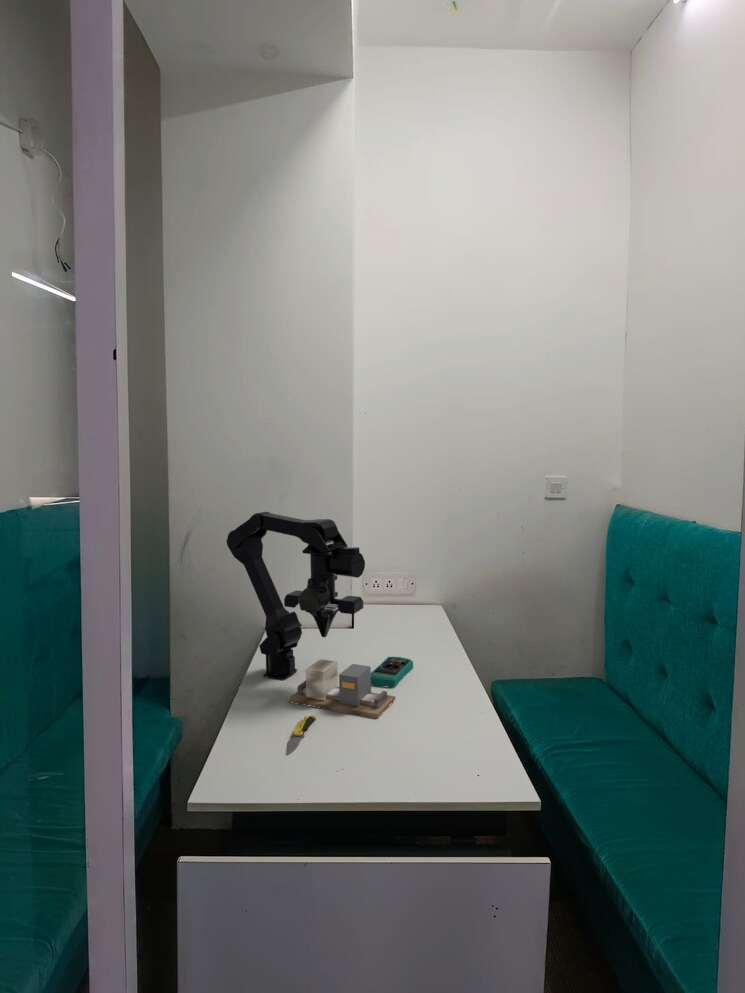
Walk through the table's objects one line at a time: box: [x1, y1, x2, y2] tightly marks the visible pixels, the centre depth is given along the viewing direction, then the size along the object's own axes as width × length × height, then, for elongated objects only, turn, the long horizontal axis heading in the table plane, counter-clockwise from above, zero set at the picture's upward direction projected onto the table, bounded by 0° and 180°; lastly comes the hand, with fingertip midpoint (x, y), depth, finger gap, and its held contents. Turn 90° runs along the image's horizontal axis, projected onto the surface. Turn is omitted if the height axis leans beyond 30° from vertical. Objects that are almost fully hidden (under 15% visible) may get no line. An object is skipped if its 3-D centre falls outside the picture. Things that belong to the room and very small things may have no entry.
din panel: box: [288, 658, 396, 720], centre depth 147 cm, size 22×10×8 cm, turn 66°
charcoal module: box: [338, 663, 372, 706], centre depth 146 cm, size 4×7×7 cm, turn 156°
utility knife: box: [286, 714, 317, 755], centre depth 132 cm, size 16×1×3 cm
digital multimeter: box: [371, 656, 414, 688], centre depth 163 cm, size 7×15×3 cm, turn 158°
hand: (324, 636), depth 156 cm, fingers closed
